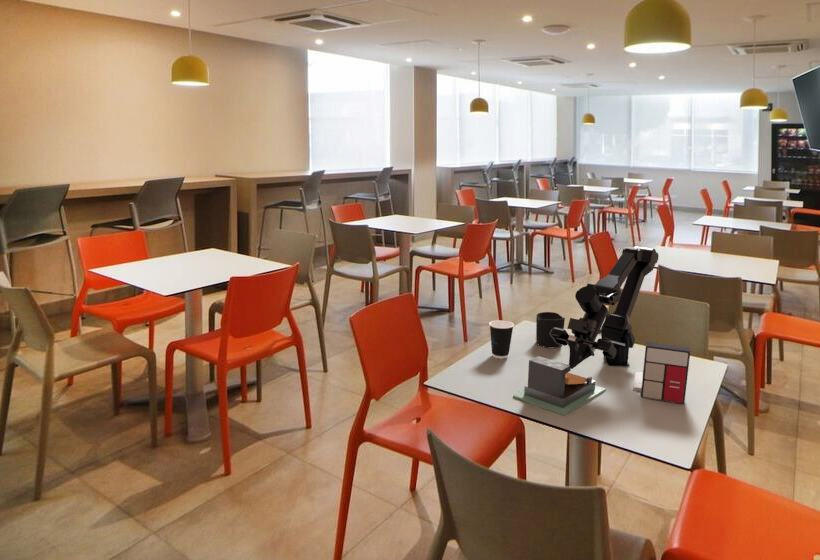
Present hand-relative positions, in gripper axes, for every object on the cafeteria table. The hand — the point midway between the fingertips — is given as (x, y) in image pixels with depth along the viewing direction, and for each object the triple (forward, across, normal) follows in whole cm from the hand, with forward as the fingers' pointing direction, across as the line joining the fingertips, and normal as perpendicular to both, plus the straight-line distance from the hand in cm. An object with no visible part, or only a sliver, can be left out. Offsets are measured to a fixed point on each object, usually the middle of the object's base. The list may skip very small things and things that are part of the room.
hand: (570, 368), depth 173 cm
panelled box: (-4, +22, +13) cm, 26 cm away
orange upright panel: (+1, 0, +2) cm, 3 cm away
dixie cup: (-1, -29, +10) cm, 31 cm away
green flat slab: (+8, 0, +1) cm, 8 cm away
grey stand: (+8, 0, 0) cm, 8 cm away
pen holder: (-16, -25, +26) cm, 39 cm away
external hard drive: (-8, +15, +19) cm, 25 cm away
